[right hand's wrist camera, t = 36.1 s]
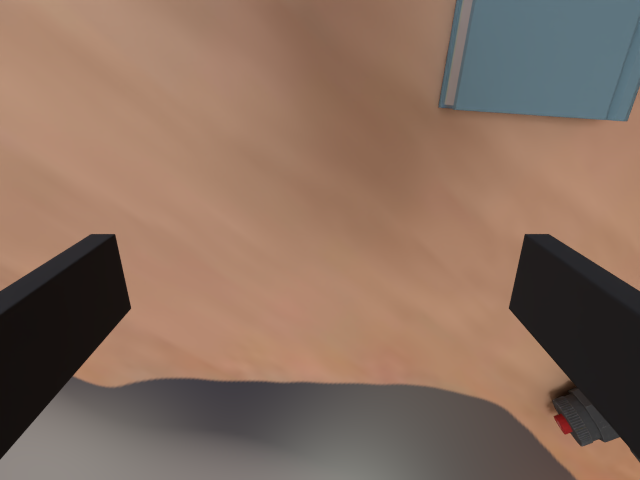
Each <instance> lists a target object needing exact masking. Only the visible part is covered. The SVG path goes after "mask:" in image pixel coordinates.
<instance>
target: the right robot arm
mask: <svg viewBox="0 0 640 480" xmlns="http://www.w3.org/2000/svg"><path fill="white" fill-rule="evenodd" d="M130 309H131V305H130V301H129V296H128V292H127V287H126V282H125V278H124V273H123V269H122V264H121V259H120V255H119V250H118V246H117V241H116V236H115V234H91V235H89V236H88V237H86V238H84V239H83V240H81V241H80V242H78V243H76V244H75V245H73V246H72V247H70V248H68V249H67V250H65V251H64V252H62V253H60V254H59V255H57V256H56V257H54V258H53V259H51V260H49V261H48V262H46V263H45V264H43V265H41V266H40V267H38V268H37V269H35V270H33V271H32V272H30V273H29V274H27V275H25V276H24V277H22V278H21V279H19V280H18V281H16V282H14V283H13V284H11V285H10V286H8V287H6V288H5V289H3V290H2V291H0V459H1V458H2V457H3V456H4V455H5V453H6V452H7V451H8V450H9V449H10V448H11V446H12V445H13V444H14V443H15V442H16V441H17V439H18V438H19V437H20V436H21V435H22V434H23V433H24V431H25V430H26V429H27V428H28V427H29V426H30V424H31V423H32V422H33V421H34V420H35V419H36V418H37V416H38V415H39V414H40V413H41V412H42V411H43V409H44V408H45V407H46V406H47V405H48V404H49V403H50V401H51V400H52V399H53V398H54V397H55V396H56V395H57V393H58V392H59V391H60V390H61V389H62V388H63V386H64V385H65V384H66V383H67V382H68V381H69V380H70V378H71V377H72V376H73V375H74V374H75V373H76V371H77V370H78V369H79V368H80V367H81V366H82V365H83V363H84V362H85V361H86V360H87V359H88V358H89V356H90V355H91V354H92V353H93V352H94V351H95V349H96V348H97V347H98V346H99V345H100V344H101V343H102V341H103V340H104V339H105V338H106V337H107V336H108V334H109V333H110V332H111V331H112V330H113V329H114V328H115V326H116V325H117V324H118V323H119V322H120V321H121V319H122V318H123V317H124V316H125V315H126V314H127V313H128V311H129V310H130ZM509 309H510V310H511V311H512V313H513V314H514V315H515V316H516V317H517V318H518V319H519V321H520V322H521V323H522V324H523V325H524V326H525V328H526V329H527V330H528V331H529V332H530V333H531V334H532V336H533V337H534V338H535V339H536V340H537V341H538V343H539V344H540V345H541V346H542V347H543V348H544V349H545V351H546V352H547V353H548V354H549V355H550V356H551V358H552V359H553V360H554V361H555V362H556V363H557V365H558V366H559V367H560V368H561V369H562V370H563V371H564V373H565V374H566V375H567V376H568V377H569V378H570V380H571V381H572V382H573V383H574V384H575V385H576V386H577V388H578V389H579V390H580V391H581V392H582V393H583V395H584V396H585V397H586V398H587V399H588V400H589V401H590V403H591V404H592V405H593V406H594V407H595V408H596V410H597V411H598V412H599V413H600V414H601V415H602V416H603V418H604V419H605V420H606V421H607V422H608V423H609V425H610V426H611V427H612V428H613V429H614V430H615V431H616V433H617V434H618V435H619V436H620V437H621V438H622V440H623V441H624V442H625V443H626V444H627V445H628V446H629V448H630V449H631V450H632V451H633V452H634V453H635V455H636V456H637V457H638V458H639V459H640V291H638V290H637V289H635V288H634V287H632V286H630V285H629V284H627V283H626V282H624V281H622V280H621V279H619V278H618V277H616V276H615V275H613V274H611V273H610V272H608V271H607V270H605V269H603V268H602V267H600V266H599V265H597V264H595V263H594V262H592V261H591V260H589V259H587V258H586V257H584V256H583V255H581V254H580V253H578V252H576V251H575V250H573V249H572V248H570V247H568V246H567V245H565V244H564V243H562V242H560V241H559V240H557V239H556V238H554V237H552V236H551V235H549V234H525V236H524V241H523V246H522V250H521V255H520V259H519V264H518V269H517V273H516V278H515V282H514V287H513V292H512V296H511V301H510V305H509Z"/></svg>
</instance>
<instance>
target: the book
mask: <svg viewBox="0 0 640 480" xmlns="http://www.w3.org/2000/svg"><path fill="white" fill-rule="evenodd" d="M639 86H640V0H457V2H456V8H455V13H454V19H453V25H452V31H451V37H450V43H449V49H448V54H447V60H446V66H445V72H444V78H443V84H442V90H441V96H440V101H439V107H440V108H453V109H454V110H466V111H481V112H496V113H511V114H526V115H540V116H555V117H570V118H585V119H599V120H614V121H628V118H629V115H630V112H631V109H632V106H633V103H634V101H635V98H636V95H637V92H638V89H639Z"/></svg>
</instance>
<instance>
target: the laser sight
mask: <svg viewBox="0 0 640 480" xmlns="http://www.w3.org/2000/svg"><path fill="white" fill-rule="evenodd" d="M568 392H569V395H566V396H564V397H563V396H561V397H559V398H556V399H554V400H552V402H553V404H554V406H555V409H556V411H557V412H558V414H559V415H556V416H554V418H555V420H556V422H557V424H558V425H559V427H560V429H561V430H562V431H563V433H564V434H568V433H571V434H572V436H573V437H574V439H575V440H576V441H577V442H578V443H579V445H581V446H585V445H588V444H590V443H593V441H595V440H598V439H600V440H601V441H603V442H608V441H610V440H613V439H616V438H619V437H620V436H619V435H618V434H617V433H616V431H615V430H614V429H613V428H612V427H611V426H610V425H609V423H608V422H607V421H606V420H605V419H604V418H603V416H602V415H601V414H600V413H599V412H598V411H597V410H596V408H595V407H594V406H593V405H592V404H591V403H590V401H589V400H588V399H587V398H586V397H585V396H584V395H583V393H582V392H581V391H580V390H579V389H578V388H577V387H576V388H574V389H571V390H569V391H568ZM630 450H631V449H630ZM631 452H632V453H633V454H634V456H635V457H636V458H637V459H638V461H639V462H640V459H639V458H638V457H637V456H636V455H635V453H634V452H633V451H632V450H631Z"/></svg>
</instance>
